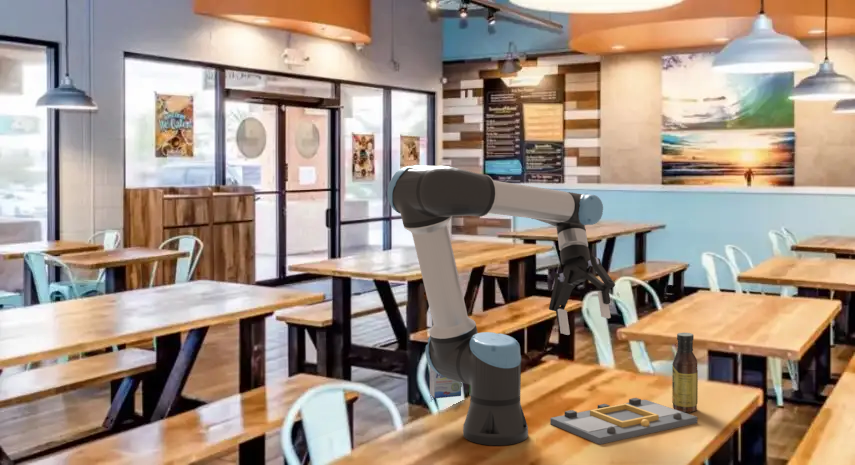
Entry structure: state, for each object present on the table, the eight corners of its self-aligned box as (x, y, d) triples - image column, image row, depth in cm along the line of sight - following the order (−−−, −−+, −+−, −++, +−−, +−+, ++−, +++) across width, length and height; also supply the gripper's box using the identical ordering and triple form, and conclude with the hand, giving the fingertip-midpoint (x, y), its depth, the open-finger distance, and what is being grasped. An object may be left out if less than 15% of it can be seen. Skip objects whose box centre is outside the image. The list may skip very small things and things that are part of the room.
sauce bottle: (678, 405, 231) (679, 330, 229) (701, 409, 227) (702, 333, 225) (667, 410, 226) (668, 334, 224) (691, 415, 222) (692, 337, 220)
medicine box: (433, 398, 239) (433, 367, 238) (429, 394, 243) (429, 363, 243) (461, 396, 241) (461, 365, 240) (456, 392, 245) (456, 361, 245)
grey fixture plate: (599, 444, 200) (599, 431, 200) (550, 423, 216) (550, 412, 216) (697, 422, 216) (697, 411, 215) (644, 405, 231) (645, 394, 231)
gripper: (620, 234, 225) (634, 312, 215) (549, 269, 242) (559, 342, 232) (601, 227, 221) (614, 306, 211) (530, 263, 237) (539, 337, 228)
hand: (585, 325), depth 222 cm, fingers open, 13 cm apart
